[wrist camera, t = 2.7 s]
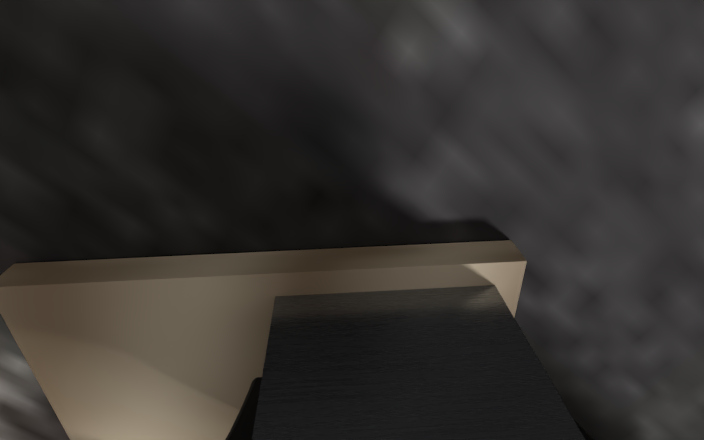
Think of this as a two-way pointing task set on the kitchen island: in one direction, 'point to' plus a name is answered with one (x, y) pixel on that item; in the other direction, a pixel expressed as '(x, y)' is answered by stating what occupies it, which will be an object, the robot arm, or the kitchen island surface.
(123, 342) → the plate
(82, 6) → the kitchen island surface
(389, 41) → the kitchen island surface
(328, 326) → the grey hollow square block
